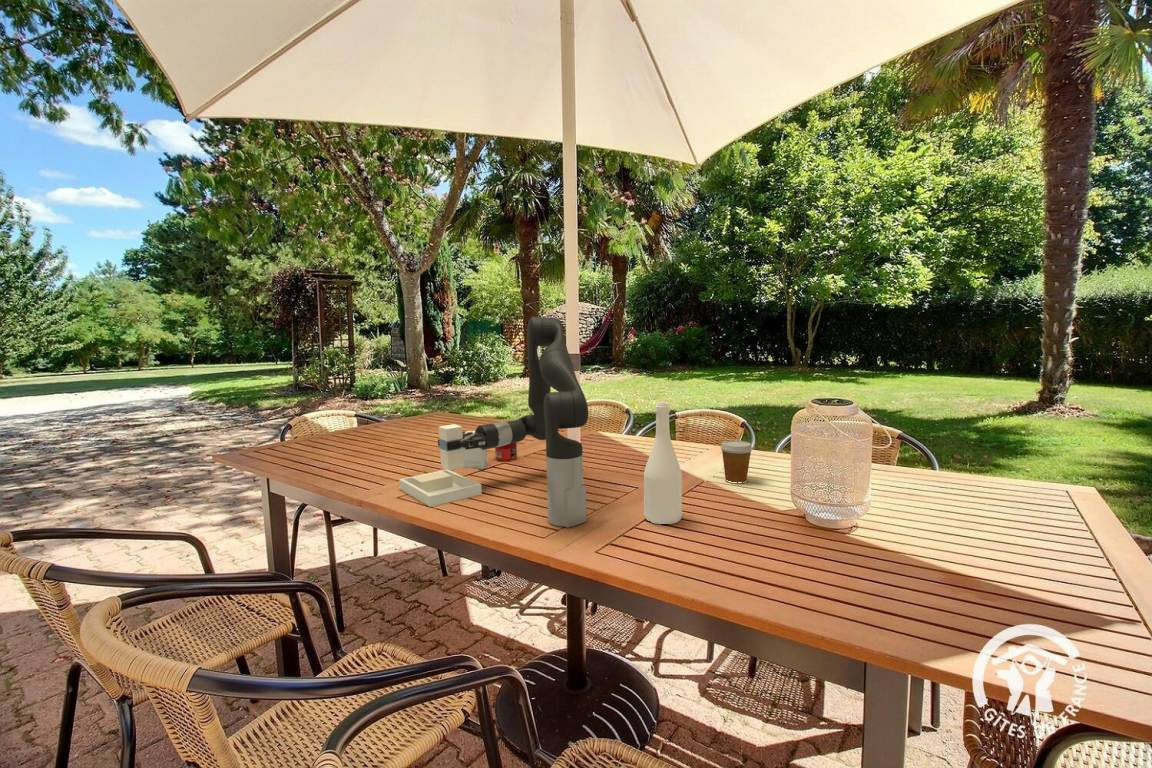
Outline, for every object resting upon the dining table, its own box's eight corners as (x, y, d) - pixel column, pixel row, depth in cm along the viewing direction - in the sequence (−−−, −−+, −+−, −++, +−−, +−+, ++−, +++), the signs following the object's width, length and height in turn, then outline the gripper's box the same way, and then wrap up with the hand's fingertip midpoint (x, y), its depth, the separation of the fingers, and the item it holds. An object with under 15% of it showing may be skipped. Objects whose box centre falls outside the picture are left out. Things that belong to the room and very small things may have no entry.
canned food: (515, 461, 195) (514, 432, 194) (494, 462, 195) (492, 432, 194) (518, 456, 203) (517, 428, 202) (497, 456, 203) (496, 428, 202)
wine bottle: (659, 509, 142) (658, 399, 139) (689, 518, 136) (689, 402, 132) (636, 519, 136) (635, 403, 132) (667, 529, 129) (667, 407, 126)
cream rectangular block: (452, 486, 163) (452, 475, 163) (421, 493, 157) (421, 482, 156) (442, 481, 168) (442, 471, 168) (412, 488, 162) (411, 477, 162)
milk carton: (464, 466, 155) (462, 426, 154) (448, 470, 152) (445, 429, 150) (456, 463, 159) (454, 424, 158) (440, 466, 156) (438, 426, 154)
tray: (481, 497, 155) (481, 484, 155) (430, 510, 145) (429, 496, 145) (448, 481, 172) (447, 469, 172) (399, 491, 162) (399, 479, 162)
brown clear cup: (718, 476, 171) (718, 439, 170) (748, 476, 170) (749, 440, 169) (722, 485, 162) (722, 446, 161) (754, 485, 161) (755, 447, 159)
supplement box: (484, 470, 185) (482, 434, 184) (463, 470, 185) (461, 434, 184) (488, 464, 192) (486, 430, 191) (467, 464, 192) (466, 430, 191)
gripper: (481, 420, 169) (431, 428, 158) (505, 426, 158) (453, 436, 147) (482, 443, 170) (432, 453, 159) (506, 451, 159) (454, 462, 148)
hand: (443, 444), depth 153 cm, fingers closed on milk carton, 5 cm apart
